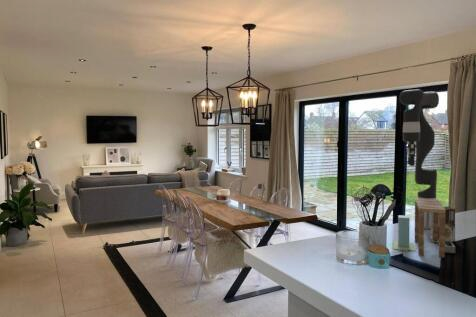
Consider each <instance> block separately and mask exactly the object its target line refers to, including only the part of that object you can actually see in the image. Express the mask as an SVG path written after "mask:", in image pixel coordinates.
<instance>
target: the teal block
mask: <svg viewBox="0 0 476 317" xmlns="http://www.w3.org/2000/svg"><path fill="white" fill-rule="evenodd" d="M397 216H398V217H397V219H398V221H397V226H398V228H397V230H398V231H397V237H398V239H397V241H398V246H399V247H409V242H410V215H402V214H401V215H400V214H399V215H397Z"/></svg>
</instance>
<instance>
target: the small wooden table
mask: <svg viewBox="0 0 476 317" xmlns="http://www.w3.org/2000/svg"><path fill="white" fill-rule="evenodd" d="M424 212H433V239H432V243H433V244H438V257H439V258H446V257H445V256H446V253H445V208H444V207H443V204H442V203H441V202H440V200H439V199H436V200H435V199H418V198H415V199H414V242H417V244H418V251H417V252H418V256H422V257H424V256H425V229H424ZM438 213H439V241H438Z"/></svg>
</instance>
